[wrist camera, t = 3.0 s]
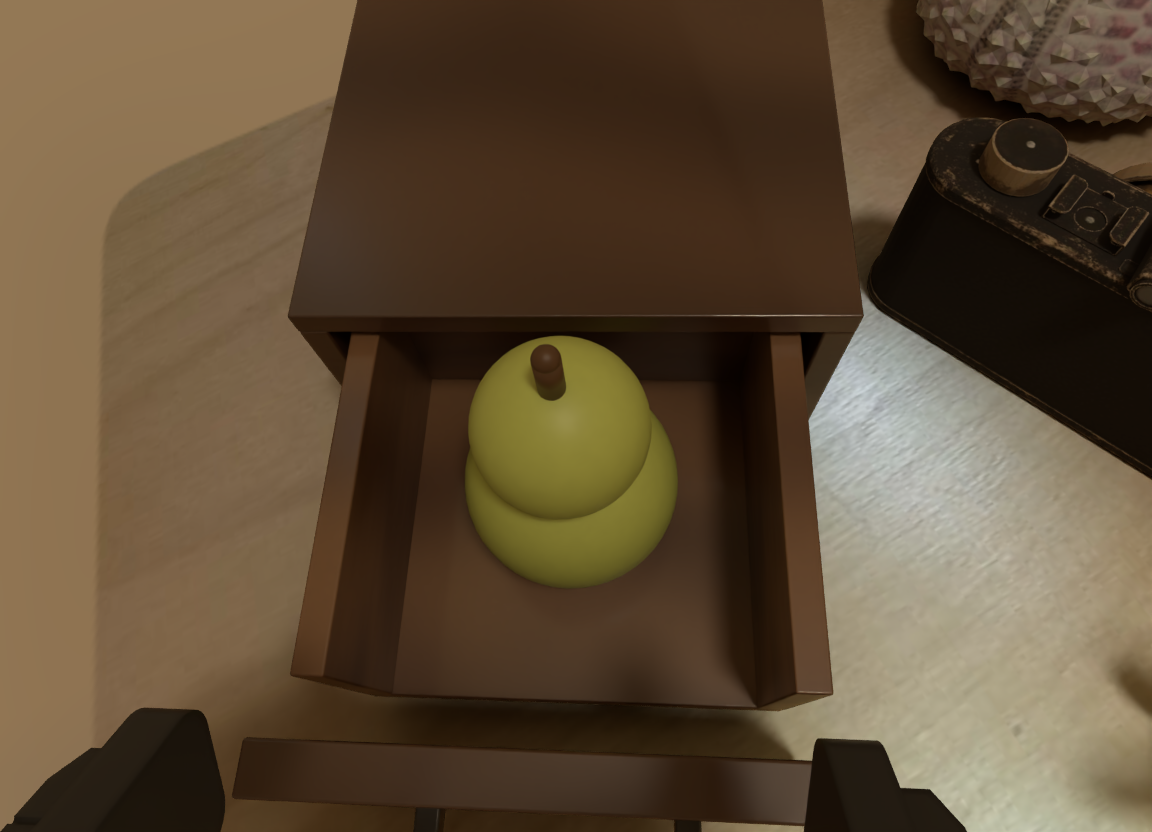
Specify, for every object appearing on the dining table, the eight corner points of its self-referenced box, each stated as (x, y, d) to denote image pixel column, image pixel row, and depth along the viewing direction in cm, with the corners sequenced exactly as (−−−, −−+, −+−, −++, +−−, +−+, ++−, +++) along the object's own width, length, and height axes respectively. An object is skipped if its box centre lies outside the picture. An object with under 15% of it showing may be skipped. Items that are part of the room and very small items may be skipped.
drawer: (825, 993, 20) (914, 1101, 13) (315, 961, 21) (180, 1048, 14) (778, 375, 27) (822, 260, 21) (401, 373, 28) (335, 263, 22)
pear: (478, 606, 23) (370, 497, 13) (494, 428, 25) (411, 227, 16) (672, 611, 23) (705, 503, 13) (670, 430, 25) (696, 224, 15)
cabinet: (795, 446, 27) (864, 316, 19) (383, 441, 28) (286, 317, 20) (768, 126, 33) (813, -75, 25) (430, 132, 34) (369, -58, 26)
